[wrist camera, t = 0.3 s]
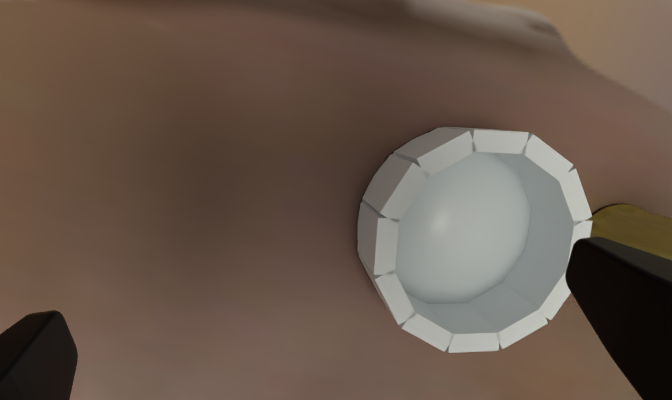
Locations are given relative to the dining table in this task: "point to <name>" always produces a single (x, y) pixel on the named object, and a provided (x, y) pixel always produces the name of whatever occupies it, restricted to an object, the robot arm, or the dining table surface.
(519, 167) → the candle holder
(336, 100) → the dining table surface
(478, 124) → the dining table surface
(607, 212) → the vase
